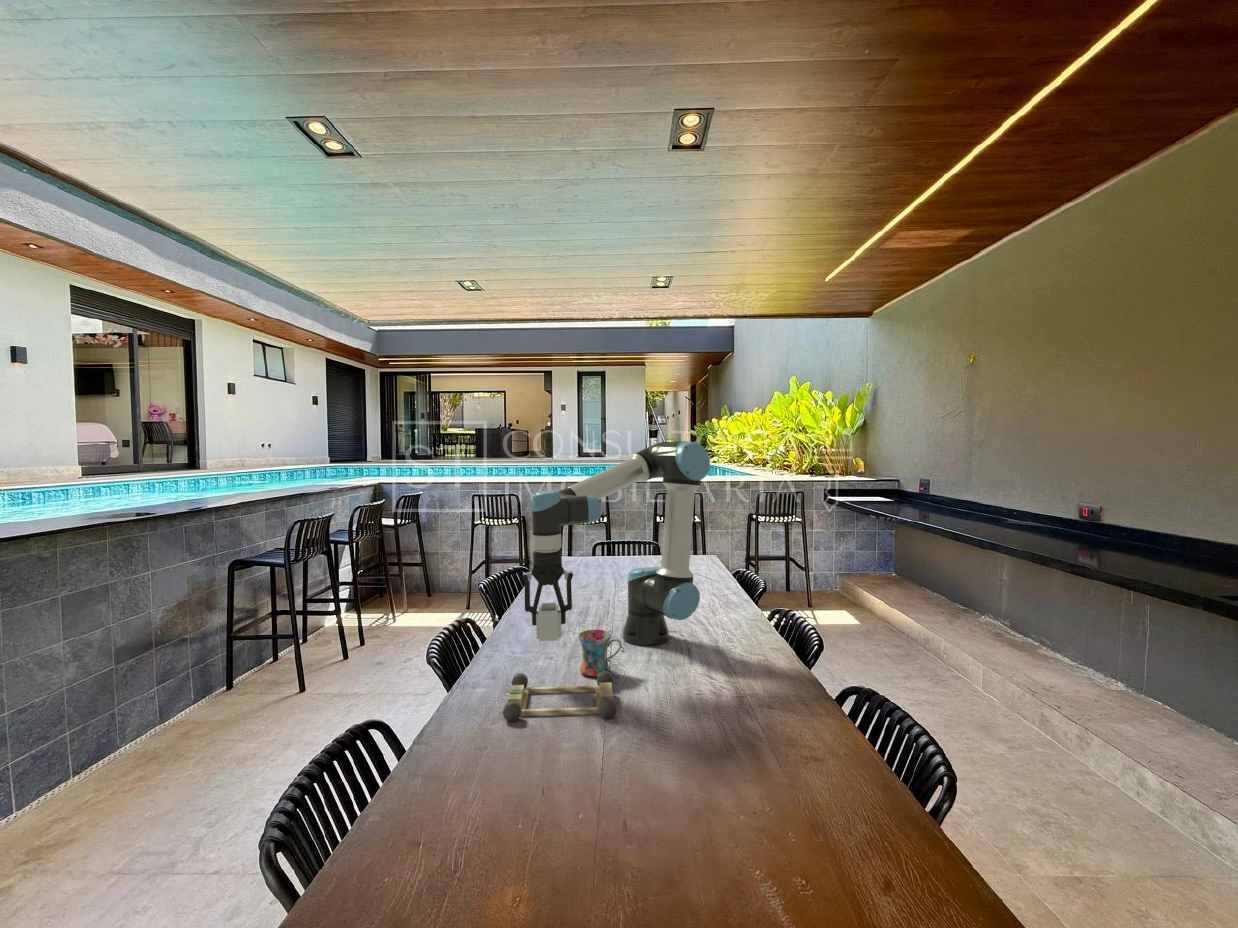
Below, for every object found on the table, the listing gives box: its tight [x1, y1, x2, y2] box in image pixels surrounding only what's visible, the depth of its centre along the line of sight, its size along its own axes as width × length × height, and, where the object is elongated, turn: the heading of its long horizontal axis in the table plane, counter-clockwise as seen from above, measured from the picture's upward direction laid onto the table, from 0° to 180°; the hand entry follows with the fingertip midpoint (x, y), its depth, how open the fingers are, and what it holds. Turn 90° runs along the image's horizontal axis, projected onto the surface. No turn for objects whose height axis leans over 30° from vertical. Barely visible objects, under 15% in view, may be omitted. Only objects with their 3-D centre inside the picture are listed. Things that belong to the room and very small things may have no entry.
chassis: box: [502, 671, 617, 723], centre depth 139 cm, size 26×18×4 cm
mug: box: [577, 629, 622, 677], centre depth 157 cm, size 12×9×11 cm
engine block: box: [538, 602, 560, 642], centre depth 150 cm, size 5×5×9 cm
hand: (549, 636), depth 150 cm, fingers closed on engine block, 5 cm apart
